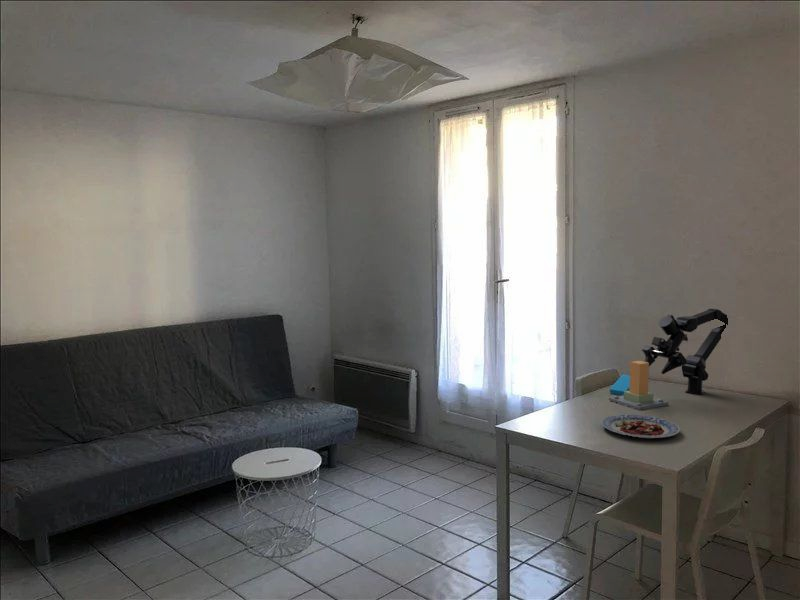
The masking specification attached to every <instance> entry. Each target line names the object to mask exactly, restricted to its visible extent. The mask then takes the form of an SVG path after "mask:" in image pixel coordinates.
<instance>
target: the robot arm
mask: <svg viewBox="0 0 800 600" xmlns="http://www.w3.org/2000/svg"><path fill="white" fill-rule="evenodd" d="M714 319H718V320H720V321H722V322H724V323H725V325H723V326H720V327H717V328H714V329H711V330H710V332H709V333H708V335H707V336H706V338H705V339H704V341H703V342H702V343H701V345H700V347H699V348H698V349H697V351H696V353H694V355H690V354H688V355H687V356H686V357H685V355H683V353H682V352H679V351H680V346H681V344H682V343H683V342H688V341H689V340H688V339H689V338H688V334H687V333H692V332H694V331H695V330H697V329H698V327H699V326H701V325H704V324H705V323H709V322H710V321H711V320H714ZM657 324H658V326H659V327H660V328H661V330H662V331H663V333H664V334H665V335H666V337H665V338H662V337H658V336H653V338H652V340H651V345H652V346H651V345H644V346H643V347H642V349H641V351H642V352H643V354H644V357H645V358H644V362H648V363H649V367H650V366H651V365H653V363H654V362H655V361H656V359H658V357H661V358H664V359H667V362H666V363H665V365H664V366H663V368H662V370H661V371H660V372H661V375H664V374H666V373H668V372H671V371H672V370H674V369H677V368H680V367H681V373H682V376H683V377H684V378H687V389H686V390H685V393H687V394H694V395H700V394H701V395H703V393H705V390H703V381H704V382H705V381H706V380H707V381H708V378H709V373H708V372H707V371H706V361H707V359H708V358H709V357H710V356H711V354H712V352H713V351H714V350H715V348H716V347H717V346H718V344H719V342H720V341H721V339H722V338H721V334H722V332H723V331H724V329H725V328H726V324H727V325H728V318H727V314H726V313H725V312H722V311H721V310H720V309H718V308H717V309H716V308H708V309H707V310H704V311H702V312H699V313H696V314H694V315H690V316H686V315H685V316H678V317H676V319H675V317H674V315H673V314H667V315H666V316H664V317H662V318H661V319H659V320H658V323H657ZM684 332H686V333H684ZM653 346H655V348H654V347H653ZM656 349H657V350H656Z"/></svg>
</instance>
